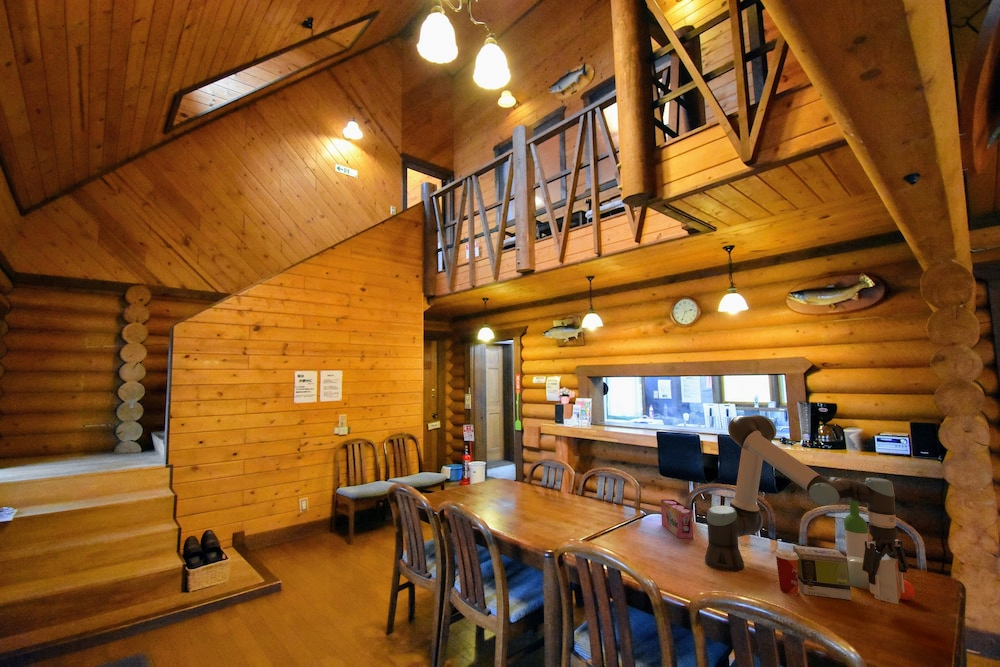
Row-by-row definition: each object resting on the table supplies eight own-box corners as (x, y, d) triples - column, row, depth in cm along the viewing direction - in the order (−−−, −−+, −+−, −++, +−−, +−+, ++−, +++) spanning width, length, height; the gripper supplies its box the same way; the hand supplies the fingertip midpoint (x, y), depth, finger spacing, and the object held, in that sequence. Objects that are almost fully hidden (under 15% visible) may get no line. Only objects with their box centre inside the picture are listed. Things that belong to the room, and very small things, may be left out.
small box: (898, 605, 147) (895, 564, 149) (873, 598, 152) (871, 558, 153) (901, 597, 153) (898, 557, 154) (877, 590, 158) (874, 552, 159)
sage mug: (861, 590, 169) (859, 565, 170) (841, 581, 177) (839, 557, 178) (883, 587, 171) (881, 562, 172) (862, 578, 179) (860, 555, 180)
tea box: (841, 589, 170) (837, 548, 171) (852, 601, 160) (848, 558, 162) (795, 583, 174) (792, 544, 176) (803, 594, 165) (800, 552, 167)
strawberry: (907, 605, 157) (905, 584, 158) (884, 597, 163) (882, 576, 164) (920, 601, 160) (918, 580, 161) (896, 593, 166) (894, 573, 167)
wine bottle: (846, 563, 194) (840, 492, 197) (869, 567, 190) (862, 494, 193) (849, 570, 187) (843, 496, 191) (873, 574, 183) (866, 498, 187)
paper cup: (801, 598, 162) (799, 557, 164) (777, 593, 166) (774, 553, 168) (801, 590, 169) (798, 551, 170) (777, 585, 173) (774, 547, 174)
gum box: (695, 539, 225) (693, 511, 226) (679, 539, 224) (678, 511, 226) (675, 524, 248) (674, 499, 250) (661, 524, 248) (660, 499, 250)
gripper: (867, 530, 149) (872, 600, 147) (919, 526, 154) (924, 594, 152) (845, 523, 156) (850, 590, 154) (895, 519, 161) (900, 584, 159)
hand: (887, 592), depth 153 cm, fingers closed on small box, 10 cm apart
